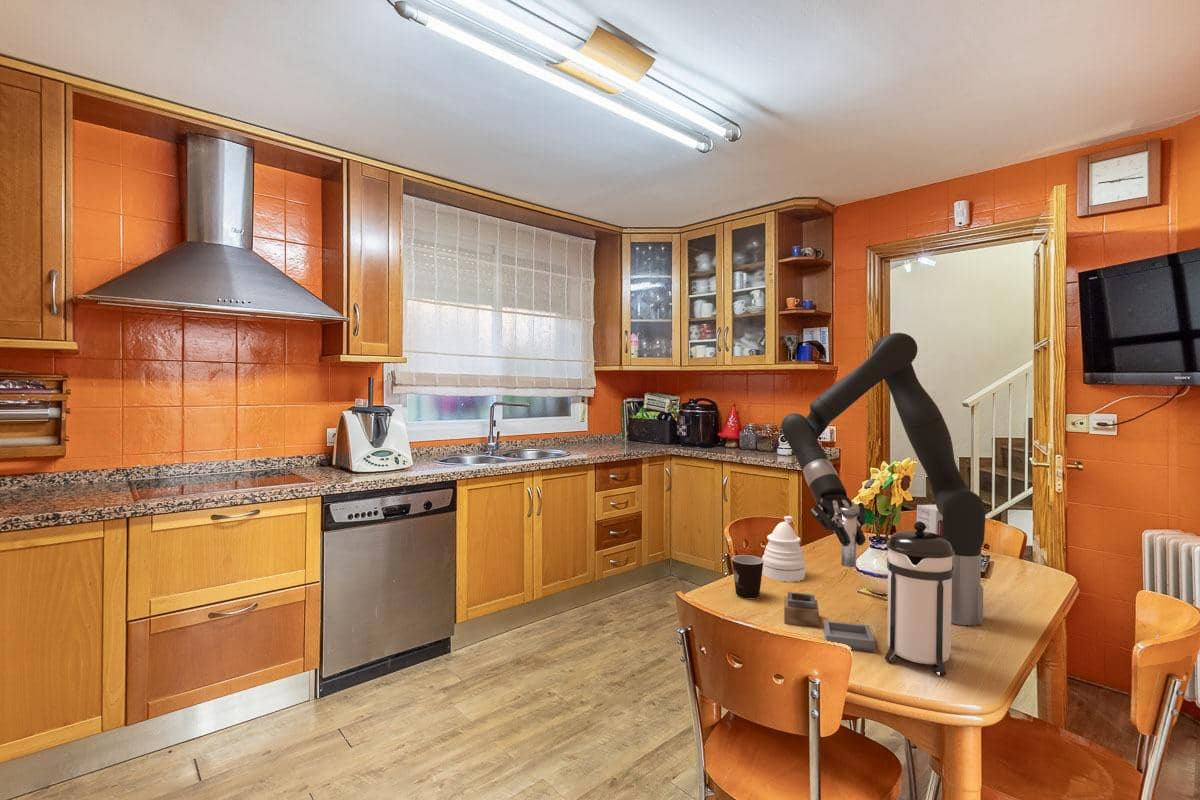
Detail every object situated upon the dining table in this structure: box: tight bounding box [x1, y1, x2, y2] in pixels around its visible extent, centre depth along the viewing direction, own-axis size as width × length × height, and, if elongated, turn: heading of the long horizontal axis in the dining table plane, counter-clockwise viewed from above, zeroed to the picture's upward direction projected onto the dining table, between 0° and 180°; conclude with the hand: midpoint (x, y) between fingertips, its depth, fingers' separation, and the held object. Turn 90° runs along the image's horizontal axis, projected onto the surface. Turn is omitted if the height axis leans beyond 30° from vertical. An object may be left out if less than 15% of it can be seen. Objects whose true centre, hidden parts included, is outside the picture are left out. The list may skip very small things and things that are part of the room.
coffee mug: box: [731, 554, 764, 599], centre depth 165 cm, size 12×9×10 cm
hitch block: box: [783, 591, 820, 628], centre depth 147 cm, size 8×8×6 cm
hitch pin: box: [840, 506, 860, 568], centre depth 134 cm, size 4×4×13 cm
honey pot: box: [761, 515, 806, 583], centre depth 180 cm, size 13×13×18 cm
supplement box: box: [916, 504, 942, 536], centre depth 202 cm, size 10×9×17 cm
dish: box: [823, 619, 876, 653], centre depth 134 cm, size 10×9×2 cm
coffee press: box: [884, 521, 955, 676], centre depth 126 cm, size 17×16×30 cm
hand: (854, 543), depth 132 cm, fingers closed on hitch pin, 3 cm apart
